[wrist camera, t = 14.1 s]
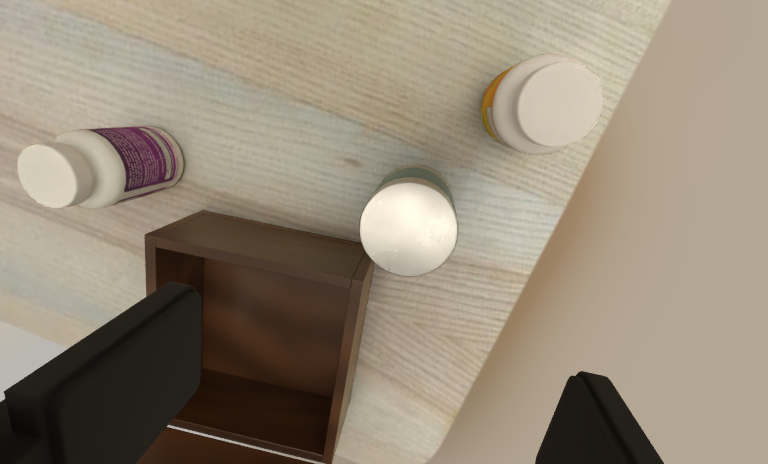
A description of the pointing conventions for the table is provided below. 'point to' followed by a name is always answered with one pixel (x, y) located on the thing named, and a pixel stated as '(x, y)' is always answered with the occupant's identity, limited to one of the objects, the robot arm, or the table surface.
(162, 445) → the lid
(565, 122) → the supplement bottle
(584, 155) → the table surface
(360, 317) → the chest
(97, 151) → the pill bottle
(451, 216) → the can
